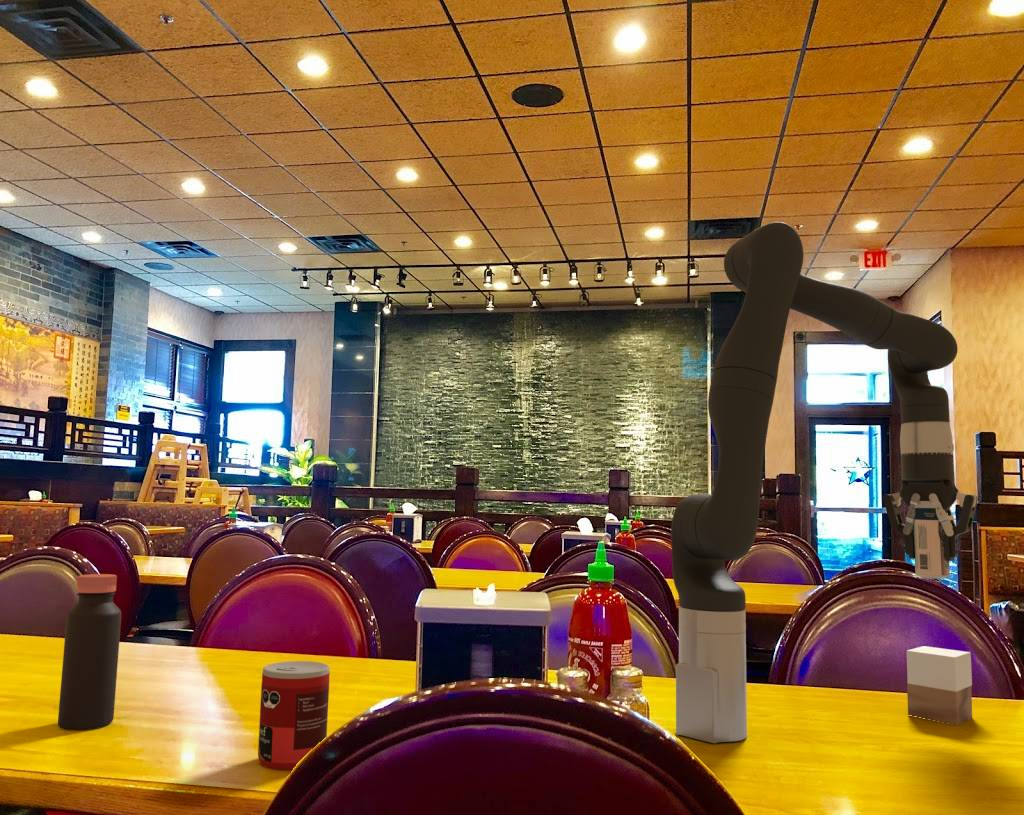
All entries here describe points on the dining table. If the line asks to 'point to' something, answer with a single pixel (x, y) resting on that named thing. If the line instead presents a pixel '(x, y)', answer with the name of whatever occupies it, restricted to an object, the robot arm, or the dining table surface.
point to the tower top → (939, 668)
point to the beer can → (929, 543)
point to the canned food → (292, 712)
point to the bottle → (90, 655)
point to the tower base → (939, 704)
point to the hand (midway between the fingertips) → (931, 559)
